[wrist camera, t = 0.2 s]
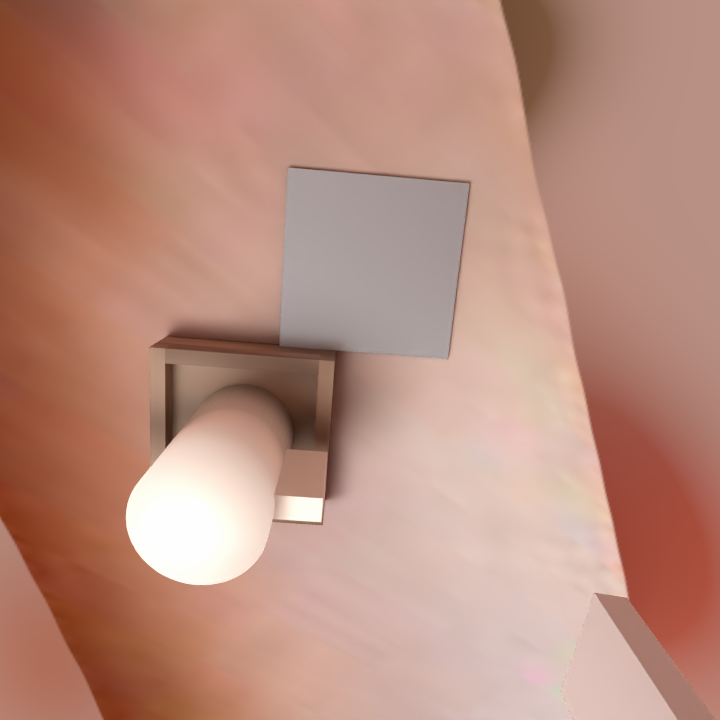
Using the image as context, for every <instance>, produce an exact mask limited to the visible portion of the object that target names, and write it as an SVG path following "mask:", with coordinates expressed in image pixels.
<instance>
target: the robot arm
mask: <svg viewBox="0 0 720 720" xmlns="http://www.w3.org/2000/svg"><path fill="white" fill-rule="evenodd" d="M561 694H562V696H563V698H564V700H565V703H566V705H567V707H568V709H569V712H570V714H571V716H572V718H573V720H715V718H714V717H713V715H712V714H711V713H710V711H709V710H708V708H707V707H706V706H705V704H704V703H703V702H702V700H701V699H700V698H699V696H698V695H697V693H696V692H695V691H694V689H693V688H692V687H691V685H690V684H689V682H688V681H687V680H686V679H685V677H684V676H683V674H682V673H681V672H680V670H679V669H678V667H677V666H676V665H675V663H674V662H673V661H672V659H671V658H670V657H669V655H668V654H667V653H666V651H665V650H664V648H663V647H662V646H661V644H660V643H659V641H658V640H657V639H656V637H655V636H654V635H653V633H652V632H651V631H650V629H649V628H648V627H647V625H646V624H645V622H644V621H643V620H642V618H641V617H640V616H639V614H638V613H637V612H636V610H635V609H634V607H633V606H632V605H631V603H630V602H629V600H628V599H627V598H624V597H618V596H612V595H605V594H599V593H594V595H593V598H592V601H591V604H590V607H589V610H588V613H587V616H586V619H585V621H584V624H583V627H582V630H581V633H580V636H579V639H578V642H577V645H576V648H575V651H574V654H573V657H572V660H571V663H570V666H569V669H568V671H567V674H566V677H565V680H564V683H563V686H562V689H561Z"/></svg>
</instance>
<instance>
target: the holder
mask: <svg viewBox="0 0 720 720" xmlns="http://www.w3.org/2000/svg"><path fill="white" fill-rule="evenodd" d="M335 357H336V350H323V349H310V348H297V347H284V346H279V345H274V344H261V343H248V342H235V341H222V340H209V339H196V338H183V337H169V336H167V337H165V338H163V339H162V340H160V341H159V342H157V343H155V344H154V345H152V346H151V347H149V362H150V447H151V466H152V465H153V463H154V462H155V461H156V460H157V459H158V457H159V456H160V455H161V454H162V452H163V451H164V450H165V449H166V447H167V446H168V445H169V444H170V443H171V441H172V440H173V439H174V438H175V436H176V435H177V434H178V433H179V431H180V430H181V429H182V428H183V427H184V425H185V424H186V423H187V422H188V420H189V419H190V418H191V417H192V415H193V414H194V413H195V412H196V411H197V409H198V408H199V407H200V406H201V404H202V403H203V402H204V401H205V400H206V399H207V398H208V397H209V396H210V395H211V394H213V393H214V392H216V391H217V390H219V389H221V388H224V387H227V386H231V385H238V384H246V385H253V386H256V387H260V388H262V389H265V390H267V391H268V392H270V393H272V394H273V395H275V396H276V397H277V398H278V399H279V400H280V401H281V402H282V403H283V404H284V406H285V407H286V408H287V410H288V412H289V414H290V416H291V419H292V422H293V427H294V439H293V444H292V448H291V449H292V450H306V451H320V452H329V439H330V425H331V411H332V398H333V384H334V371H335ZM327 466H328V454H327ZM326 479H327V467H326ZM326 479H325V489H324V499H323V509H322V519H321V522H310V521H295V520H280V519H273V520H272V522H281V523H296V524H312V525H323V516H324V505H325V493H326Z"/></svg>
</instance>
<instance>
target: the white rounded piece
mask: <svg viewBox="0 0 720 720" xmlns="http://www.w3.org/2000/svg"><path fill="white" fill-rule="evenodd" d="M293 439H294V427H293V422H292V419H291V416H290V414H289V412H288V410H287V408H286V407H285V406H284V404H283V403H282V402H281V401H280V400H279V399H278V398H277V397H276V396H275V395H273V394H272V393H270V392H268V391H267V390H265V389H262V388H260V387H256V386H253V385H246V384H238V385H231V386H227V387H224V388H221V389H219V390H217V391H216V392H214V393H213V394H211V395H210V396H209V397H208V398H207V399H206V400H205V401H204V402H203V403H202V404H201V406H200V407H199V408H198V409H197V411H196V412H195V413H194V414H193V415H192V417H191V418H190V419H189V420H188V422H187V423H186V424H185V425H184V427H183V428H182V429H181V430H180V431H179V433H178V434H177V435H176V436H175V438H174V439H173V440H172V441H171V443H170V444H169V445H168V446H167V447H166V449H165V450H164V451H163V452H162V454H161V455H160V456H159V457H158V459H157V460H156V461H155V462H154V463H153V465H152V466H151V467H150V468H149V470H148V471H147V472H146V473H145V475H144V476H143V477H142V478H141V479H140V481H139V482H138V483H137V485H136V486H135V488H134V489H133V491H132V493H131V495H130V498H129V501H128V505H127V510H126V524H127V530H128V534H129V537H130V539H131V542H132V544H133V546H134V548H135V549H136V551H137V552H138V554H139V555H140V556H141V558H142V559H143V560H144V561H145V562H146V563H147V564H148V565H149V566H151V567H152V568H153V569H154V570H156V571H157V572H159V573H161V574H162V575H164V576H166V577H168V578H170V579H173V580H176V581H179V582H182V583H187V584H194V585H210V584H217V583H222V582H225V581H228V580H231V579H233V578H235V577H237V576H239V575H241V574H242V573H244V572H245V571H247V570H248V569H249V568H250V567H251V566H252V565H253V564H254V563H255V562H256V561H257V560H258V558H259V557H260V555H261V554H262V552H263V550H264V548H265V546H266V543H267V539H268V536H269V532H270V528H271V524H272V520H273V519H280V520H295V521H310V522H321V519H322V509H323V499H324V489H325V479H326V467H327V454H328V452H320V451H306V450H292V449H291V448H292V444H293Z"/></svg>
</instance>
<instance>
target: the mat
mask: <svg viewBox="0 0 720 720" xmlns="http://www.w3.org/2000/svg"><path fill="white" fill-rule="evenodd" d="M469 185H470V183H459V182H448V181H436V180H425V179H413V178H402V177H391V176H379V175H368V174H357V173H345V172H334V171H322V170H311V169H300V168H288V175H287V196H286V217H285V239H284V260H283V281H282V302H281V323H280V344H279V346H284V347H297V348H310V349H323V350H336V351H349V352H362V353H375V354H388V355H402V356H415V357H428V358H441V359H448V353H449V345H450V337H451V329H452V321H453V313H454V305H455V297H456V289H457V281H458V273H459V265H460V257H461V249H462V241H463V233H464V225H465V217H466V209H467V201H468V193H469Z"/></svg>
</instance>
